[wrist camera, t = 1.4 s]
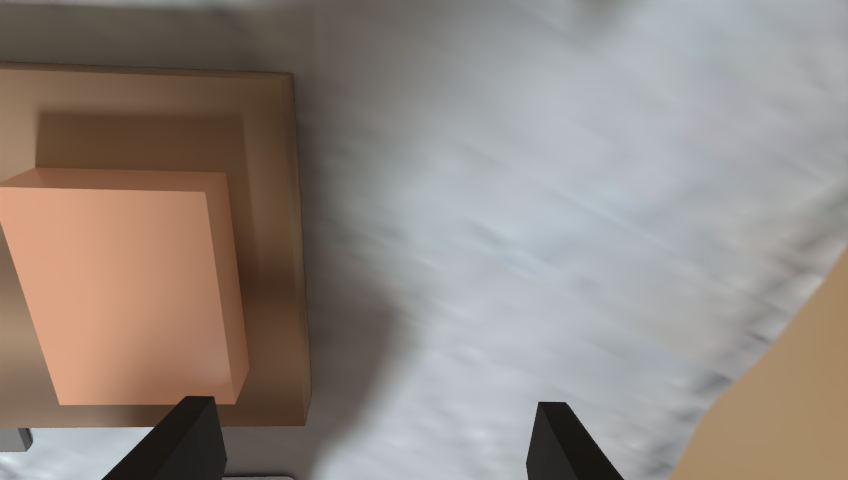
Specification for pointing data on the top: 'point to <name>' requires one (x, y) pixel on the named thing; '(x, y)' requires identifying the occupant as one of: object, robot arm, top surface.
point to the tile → (129, 282)
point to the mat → (14, 440)
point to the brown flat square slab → (167, 151)
